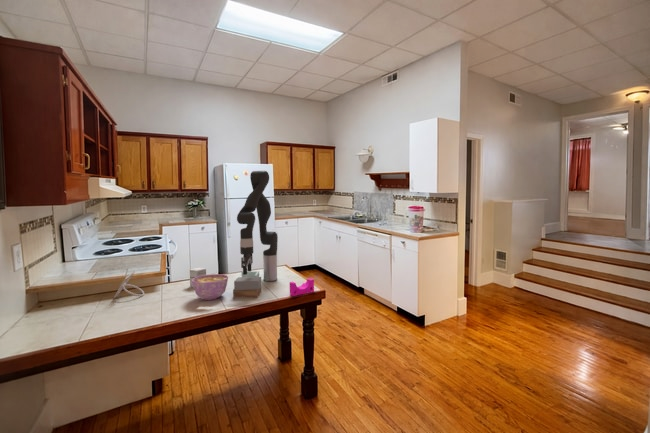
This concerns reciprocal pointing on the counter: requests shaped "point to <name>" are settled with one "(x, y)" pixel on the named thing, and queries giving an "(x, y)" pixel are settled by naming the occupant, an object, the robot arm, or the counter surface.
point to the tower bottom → (246, 293)
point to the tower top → (247, 283)
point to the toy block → (302, 287)
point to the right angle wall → (251, 274)
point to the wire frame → (128, 285)
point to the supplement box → (196, 274)
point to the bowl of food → (210, 286)
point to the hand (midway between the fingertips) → (247, 272)
